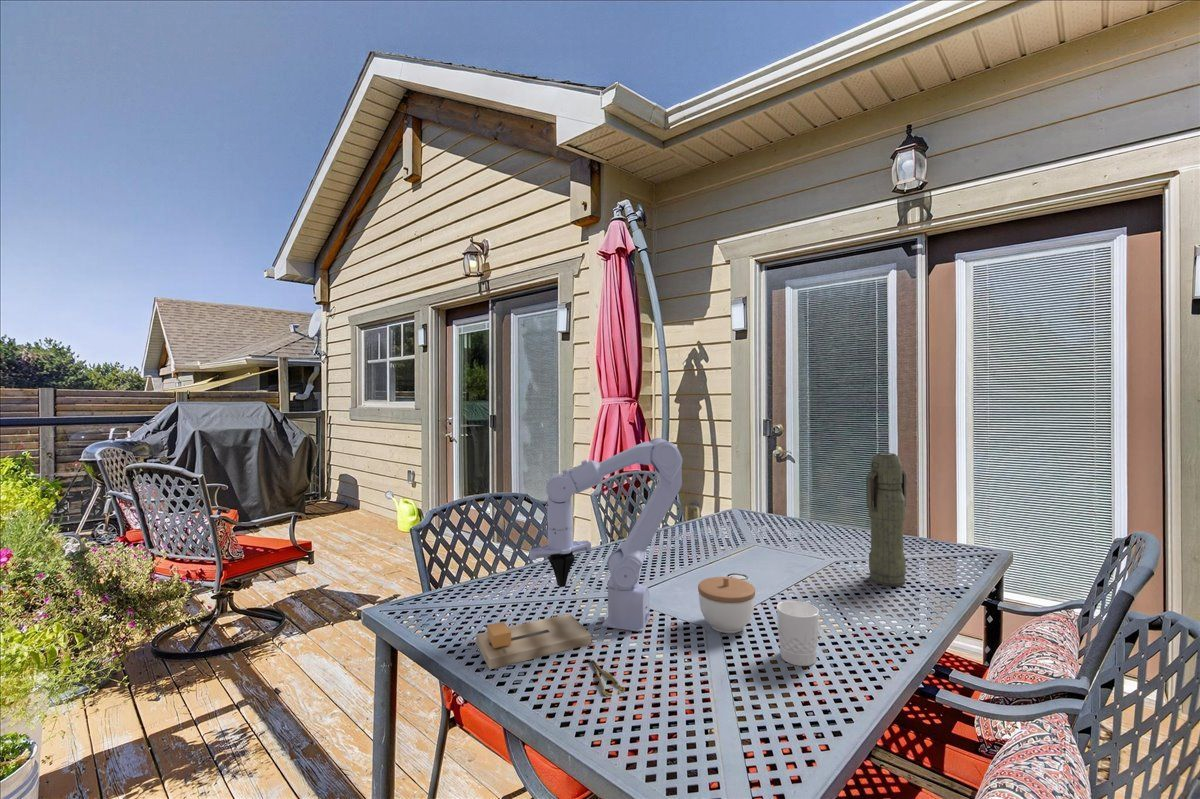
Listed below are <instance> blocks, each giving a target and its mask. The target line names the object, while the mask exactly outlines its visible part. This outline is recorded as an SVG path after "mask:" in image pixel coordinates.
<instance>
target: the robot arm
mask: <svg viewBox="0 0 1200 799" xmlns="http://www.w3.org/2000/svg"><path fill="white" fill-rule="evenodd" d="M683 459H684V458H683V457H682V454H681V452H680V450H679V448H678V447H677V444H674V443H673V442H672V441H671V442H670V441H668V440H666V439H664V438H661V437H656V438H653V439H651V440H650V441H648V440H647V441H643V442H640V443H639V444H635V445H634V446H631V447H629V448H627V449H624V451H623V450H622V451H621V452H619V453H617V454H615V455H612V456H611V457H608V458H606V459H604V460H603V461H599V462H597V461H595V460H591V459H590V460H587V459H584V460H582V461H581V462H580V463H581V464H580V465H577V466H574V467H573V468H570V469H568V470H567V469H565V468H564V469H563V470H561V472H562V473H555V474H553V475H551V476H550V477H549V479H548V480H547V483H546V487H545V489H546V494H547V496H548V497H547V500H546V501H547V508H546V509H547V510H546V512H547V515H546V517H547V518H546V519H547V520H546V521H547V544H546V545H543V546H539V547H535V548H531V549H528V556H529V557H528V558H529V560H531V561H536V560H537V559H542V558H547V559H548V562H549V563H550V565H551V568H552V570H553V573H554V575H555V576H554V577H555V580H556V584H557V586H558V587H559V588H565V587H566V586H567V580H568V576H569V573H570V570H571V569H572V565H573V564H574V562H575V559H576V558H575V555H574V553H578V552H584V551H586V552H591V551H592V542H591V541H589V540H582V541H580V540H579V541H577V540H575V541H574V537H573V536H574V534H573V533H574V532H573V530H574V529H573V528H574V527H573V506H572V503H571V498H572V495H577V494H579V493H582V492H584V491H587V490H588V489H590V488H593V487H595V486H598V485H601V483H602V482H603V479H604V477H605V476H607V475H609V474H611V473H615V472H616V471H620V470H623V469H625V468H628V467H631V466H633V465H636V464H638V465H639V464H640V465H645V466H651V465H652V467H653V468H654V471H655V474H656V478H657V481H658V483H657V484H656V486H655V488H654V490H653V491H652V493H651V495H650V496H649V498H648V500H647V502H646V504H645V505H644V507H643V509H642V511H641V512H640V514H639V516H638V518H637V520H636V522H635V524H634V525H633V526H632V528H631V531H630V533H628V536H627V538H626V539H625V540H624V541H623V542H621V543H620V544H619V546H618V548H617V549H616V550H615V551H613V552H612V553H610V555H609V556H608V558H607V562H606V563H607V568H608V571H609V572H610V577H609V579H608V580H607V611H608V612H607V615H608V616H607V617H606V619H605V620H604V622H603V623H602V627H603V628H611V629H617V630H624V631H631V632H632V631H633V632H638V633H639V631H640V633H642V632H643V631H644V630H645V628H646V626H647V624H648V623H649V621H650V619H651V615H650V611H651V610H650V590H649V587H648V586H645V585H643V584H642V585H641V584H640V583H639V578H640V570H641V567H642V566H643V563H644V557H645V553H646V551H647V548H648V547H649V546H650V544H651V541H652V540H653V538H654V537H655V535H656V533H657V531H658V529H659V527H660V526H661V523H662V522H663V521H664V519H665V517H666V514H668V511H669V509H670V508H671V506H672V504H673V502H674V500H675V499H676V497H677V495H678V494H679V492H680V490H681V488H682V486H683V476H682V474H683V473H682V471H683V468H682V464H683V461H684V460H683ZM641 631H642V632H641Z"/></svg>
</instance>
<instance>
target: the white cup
mask: <svg viewBox="0 0 1200 799" xmlns="http://www.w3.org/2000/svg"><path fill="white" fill-rule="evenodd" d="M819 613H820V611H819V608H818V607H816V606H815V605H813V604H812V603H809V602H806V601H805V602H804V601H801V600H800V601H799V600H784V601H781V602H778V603H777V604H776V614H777V615H776V616H777V617H776V618H777V634H778V643H779V652H780V657H781V659H782V660H783V661H784V662H786V663H788V664H791V665H793V666H794V665H795V666H799V667H808V666H809V667H810V666H813V665H815V663H816V662H817V649H818V648H817V647H818V638H819V616H820V614H819Z"/></svg>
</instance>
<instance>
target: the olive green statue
mask: <svg viewBox="0 0 1200 799" xmlns="http://www.w3.org/2000/svg"><path fill="white" fill-rule="evenodd" d="M865 480H866V482H865V486H866V492H865V493H866V498H865V499H866V508H868V517H869V518H870V551H869V554H868V570H869V580H870V581H872V582H873V583H876V584H878V585H881V586H887V587H901V586H904V585H905V584H906V574H907V573H906V572H907V569H906V568H907V566H906V565H907V563H906V562H907V561H906V560H907V558H906V556H905V553H904V521H905V520H906V505H907V474H906V472H905V470H903V464H902V462H901V459H900V456H899V455H898V454H896V453H891V452H877V453H876V454H873V457H872V459H871V463H870V471H869V472H868V473H867V475H866V478H865Z"/></svg>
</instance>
